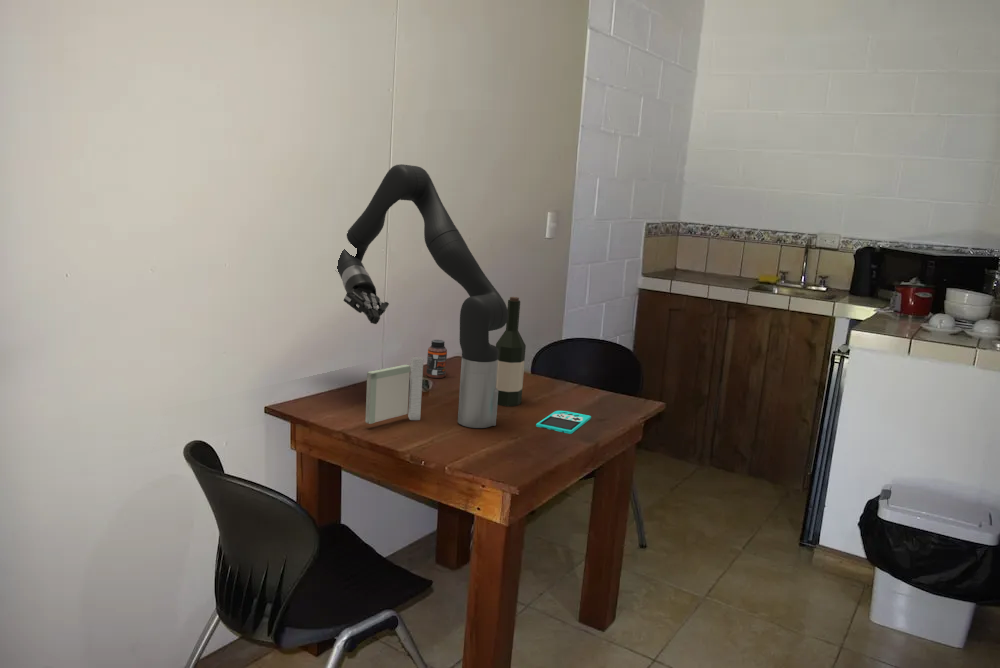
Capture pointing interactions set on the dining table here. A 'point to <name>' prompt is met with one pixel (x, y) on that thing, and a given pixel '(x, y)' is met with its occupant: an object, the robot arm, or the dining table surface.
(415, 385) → the post
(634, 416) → the dining table surface
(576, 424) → the handheld game console
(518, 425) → the dining table surface
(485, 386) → the robot arm
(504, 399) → the wine bottle
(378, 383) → the beige and green panel
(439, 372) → the supplement bottle
